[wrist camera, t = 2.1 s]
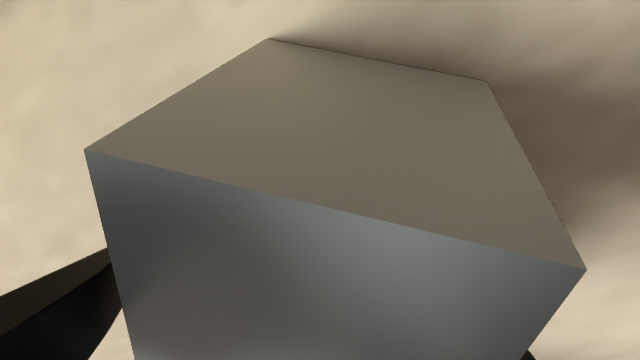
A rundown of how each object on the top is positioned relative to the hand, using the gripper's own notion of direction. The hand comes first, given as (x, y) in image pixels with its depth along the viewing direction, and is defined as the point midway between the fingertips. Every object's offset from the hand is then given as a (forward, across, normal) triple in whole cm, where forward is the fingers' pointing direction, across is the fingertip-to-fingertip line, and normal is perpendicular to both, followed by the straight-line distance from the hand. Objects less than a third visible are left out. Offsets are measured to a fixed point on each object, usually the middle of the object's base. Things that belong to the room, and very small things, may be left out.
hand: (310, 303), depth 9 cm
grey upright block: (+7, 0, 0) cm, 7 cm away
